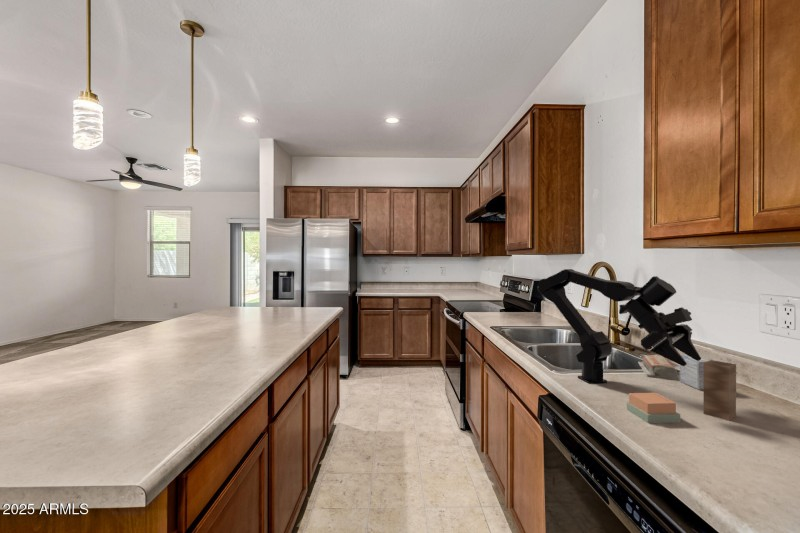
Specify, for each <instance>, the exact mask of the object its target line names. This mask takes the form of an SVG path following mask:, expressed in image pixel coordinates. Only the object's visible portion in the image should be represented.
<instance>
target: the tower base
mask: <svg viewBox="0 0 800 533" xmlns="http://www.w3.org/2000/svg"><path fill="white" fill-rule="evenodd" d="M626 411H628V412H630V413H631V414H633V415H634V416H636V417H638V418H639V419H641V420H642V421H644V422H646V423H647V424H654V423H655V424H657V423H659V424H660V423H661V424H663V423H666V424H667V423H681V414H680V413H679V412H677V411H676V413H664V414H647V413H645V412H644V411H642V410H640V409H639V408H637V407H635V406H634V405H632V404H631V403H629V402H626Z"/></svg>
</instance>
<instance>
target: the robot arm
mask: <svg viewBox="0 0 800 533" xmlns="http://www.w3.org/2000/svg"><path fill="white" fill-rule="evenodd" d="M569 283H570V284H571V283H572V284H576V285H577V286H581V287H584V288H588V289H591V290H594V291H597V292H599V293H601V294H602V295H603V296H604V297H606V298H608V299H610V300H611V301H613V302H625V301H627V302H626V303H624V304H619V310H618V313H619V314H620V315H624V314H627V313H628V314H629V315H630V316H631V317H632V318H633V319H634V320H635V321H636V322H637V323H638V325H637V327H638V328H639V329H644V330H645V331H646V332H647V335H645V336H644V337H643V338H641V339H640V345H641V347H642V348H643V349H644V350H645V351H648V350H649V353H654V354H655V355H661V356H663V357H665V358H666V359H667V360H668V361H671V362H674V363H675V364H677V365H679V366H680V365H681V366H685V365H687V363H686V362H685V360H684V359H683V358H682V356H683V355H681V354H680V353H679V351H680V352H682V353H683V354H685V355H688V356H690V357H691V358H693V359H695V360H697V361H699V360H701V358H702V357H701V356H700V354H699V352H698V350H697V349H696V347H695V346H694V344H693V341H692V335H693V332H692V331H693V329H692V327H690V326H689V325H688V324H685V322H691V321H693V318H692V317H691V315H692V312H691V311H689V310H688V309H687V308H684V307H683V306H682V307H678V308H675V309H674V310H673V312H671V313H667V314H665V313H664V312H658V311H657V310H656V309H655V308H654V307H653V306H656V307H660V306H662V305H663V304H664V303H665V302H667V301H668V300H669V299H670V298H672V297H673V296H674V295H675V294H676V293H677V290H676V288H675V287H674V286H673V285H672V284H671V283H668V282H667V281H666V280H664V279H661V278H660V277H659V276H657V275H656V276H652V277H651V278H650V279H649V280H648V282H646V283H645V284H644V285H643V286H641V287H639V286H635V284H633V283H632V282H629V281H623V280H622V281H621V280H609V279H604V278H601V277H597V276H593V275H591V274H588V273H584V272H580V271H577V270H574V269H572V268H567V269H565V268H564V269H562V270H560V271H559V272H557V273H555V274H553V275H549V276H548V277H547V278H541V279H540V280H539V281H538V283H537V291H538V292H539V293H540V294H541V295H542V296H543V297H544V298H545V299H546V300H548V301H550V302H551V303H553V304H554V305H555V307H556V308H557V309H558V311H559V312H560V313H561V314H562V316H563V317H564V319H565V320H566V322H567V323H568V324H569V325H570V327H571V328H572V329H573V331H574V332H575V333H576V335H577V337H578V338H579V343H580V347H581V349H582V350H581V351H580V352H579V353H578V354H576V356H575V357H576V359H577V362H579V363H581V375H577V378H578V379H580V380H582V381H584V382H586V383H587V384H600V383H608V380H607V379H604V364H603V362H606V361H607V360H608V357H609V356H610V355H611V354H612V352H613V346H612V344H611V342H612V341H611V340H610V339H609V338H607V336H606V334H605V333H604V332H603V331H602V330H601V331H596V330H593V328H592V327H591V326H590V325H589V324H588V322H587V321H586V320H585V318H584V317H583V316H582V315H581V313H580V312H579V311H578V309H577V308H576V307H575V306H574V304H573V303H572V301H570V299H569V298H568V297H567V295H566V294H567V293H566V288H565V287H566V286H568V285H569ZM635 297H636V298H635ZM634 298H635V299H634Z"/></svg>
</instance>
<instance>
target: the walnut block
mask: <svg viewBox="0 0 800 533" xmlns="http://www.w3.org/2000/svg"><path fill="white" fill-rule="evenodd" d="M703 415H707V416H711V417H714V418H718V419H722V420H724V419H725V421H728V420H729V421H730V419H731V420H732V419H734V418H735V417H737V364H736V363H731V362H725V361H719V360H715V359H714V360H713V359H711V360H709V361H707V362H705V363H704V390H703ZM733 417H734V418H733Z"/></svg>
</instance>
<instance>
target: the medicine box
mask: <svg viewBox="0 0 800 533" xmlns="http://www.w3.org/2000/svg"><path fill="white" fill-rule="evenodd" d="M681 356H682V358H683V359H684V360H685V362H686V363H687V365H685V366H681V365H679V374H680V380H679V382H680V383H681V384H682V383H683V384H684V385H687V386H690V387H692V388H694V389H695V390H696V389H697V390H698V391H704V363H705V362H707V361H710V360H708V359H706V358H705V359H704V358H702V357H701V360H699V361H697V360H695V359H693V358H691V357H690V356H688V355H686V354H685V355H681Z"/></svg>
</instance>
